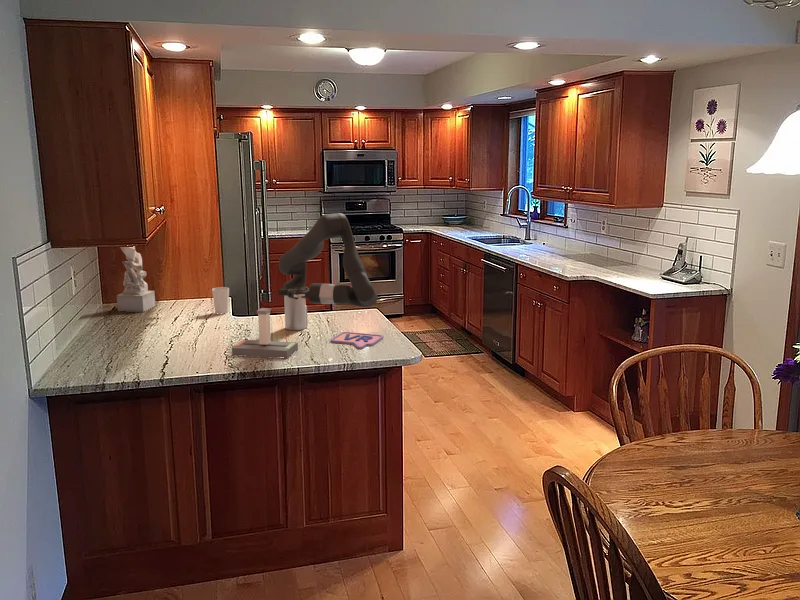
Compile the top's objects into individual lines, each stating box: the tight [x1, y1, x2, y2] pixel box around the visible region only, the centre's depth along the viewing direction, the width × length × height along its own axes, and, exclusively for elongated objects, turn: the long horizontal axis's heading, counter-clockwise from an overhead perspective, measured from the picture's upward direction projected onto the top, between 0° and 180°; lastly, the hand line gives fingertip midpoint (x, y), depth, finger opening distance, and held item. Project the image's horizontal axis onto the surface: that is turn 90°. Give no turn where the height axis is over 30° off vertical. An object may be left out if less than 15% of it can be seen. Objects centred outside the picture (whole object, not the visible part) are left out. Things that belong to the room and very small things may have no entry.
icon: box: [329, 331, 384, 350], centre depth 273 cm, size 19×2×20 cm
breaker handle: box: [256, 307, 272, 345], centre depth 255 cm, size 5×4×13 cm
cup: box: [211, 286, 230, 315], centre depth 323 cm, size 8×8×12 cm
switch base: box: [231, 339, 299, 359], centre depth 257 cm, size 12×22×3 cm, turn 79°
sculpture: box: [116, 246, 156, 313], centre depth 330 cm, size 13×13×35 cm
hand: (279, 292), depth 251 cm, fingers closed
